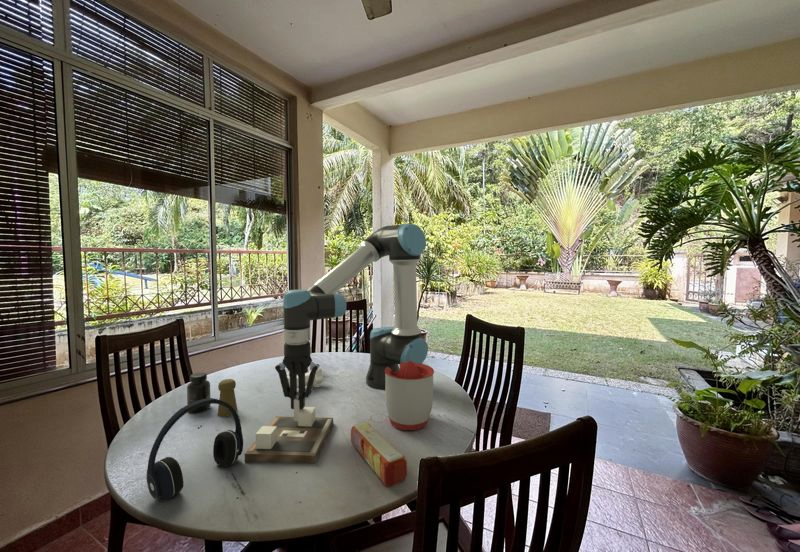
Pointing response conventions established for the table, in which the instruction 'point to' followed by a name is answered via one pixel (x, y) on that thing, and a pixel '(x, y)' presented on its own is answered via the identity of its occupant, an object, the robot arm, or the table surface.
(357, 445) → the snack package
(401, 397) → the citrus juicer
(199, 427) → the table surface
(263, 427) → the cream cube
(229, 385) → the cork
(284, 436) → the brown wooden tray
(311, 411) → the tab far
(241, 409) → the table surface
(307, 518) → the table surface
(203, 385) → the supplement bottle
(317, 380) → the bone shaped toy
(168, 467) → the headphones
